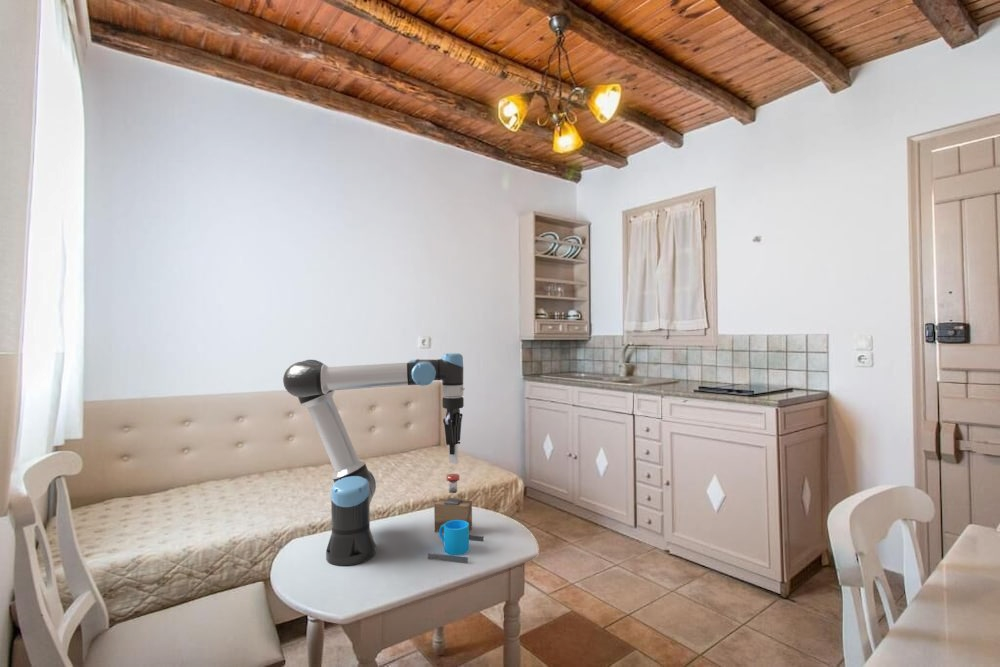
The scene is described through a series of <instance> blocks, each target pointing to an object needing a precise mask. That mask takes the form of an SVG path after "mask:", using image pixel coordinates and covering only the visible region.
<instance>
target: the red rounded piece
mask: <svg viewBox="0 0 1000 667" xmlns="http://www.w3.org/2000/svg"><path fill="white" fill-rule="evenodd" d="M459 480H460V474H458V473H449V474H447V475H446V481H447V482H448V493H450V494H456V493H458V481H459Z"/></svg>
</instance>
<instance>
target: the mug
mask: <svg viewBox="0 0 1000 667" xmlns="http://www.w3.org/2000/svg"><path fill="white" fill-rule="evenodd" d="M443 528H444V533H443V532H442V531H443ZM438 534H439V537H440V540H441V541H442V543H443V545H444V546H443V551H444V553H445V554H446V555H451V556H461V555H465V554H467V553H468V552H469V551H470V540H469V535H470V532H469V523H468V522H466V521H463V520H452V521H448V522H446V523H445V524H443V525H442V526H441V527H440V529H439V532H438Z"/></svg>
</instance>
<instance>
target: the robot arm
mask: <svg viewBox="0 0 1000 667" xmlns="http://www.w3.org/2000/svg"><path fill="white" fill-rule="evenodd" d="M282 380H283V381H282V382H283V386H284V389H285V390H286V392H288V393H289V394H290V395H292V396H293V397H297V398H298V401H299V403H300V405H301V406H303V407H306V408H307V409H308V412H309V413H310V416H311V419H312V421H313V423H314V426H315V429H316V431H317V433H318V436H319V437H320V440H321V443H322V445H323V447H324V449H325V452H326V454H327V456H328V459H329V461H330V464H331V466H332V468H333V470H334V472H333V475H332V476H331V477H332V480H333V482H334V483H333V484H332V487H331V492H330V499H331V500H330V501H331V502H330V503H331V505H330V506H331V509H330V510H331V535H330V538H329V541H328V544H327V547H326V549H325V550H326V551H325V560H326V561H327V562H328V563H329V564H331V565H335V566H350V565H351V566H352V565H357V564H361V563H363V562H366V561H368V560H370V559H371V558H373V556H375V554H376V542H375V540H374V537H373V534H372V531H371V527H370V524H371V523H370V521H371V520H370V510H371V509H370V505H371V503H372V502H371V501H372V500H373V497H374V496H375V492H376V487H377V484H376V479H375V477H374V475H373V473H372V472H371V471H370V470H369V469H368V466H367V465H366V462H365V461H364V460H361V459H359V457H358V455H357V452H356V451H355V448H354V446H353V445H354V444H353V443H352V441H351V438H350V436H349V434H348V431H347V429H346V427H345V424H344V422H343V420H342V417H341V415H340V412H339V410H338V409H337V408H338V407H337V405H336V403H335V401H334V398H333V396H334V393H335V391H344V390H345V391H346V390H359V389H361V390H362V389H372V388H373V389H374V388H386V387H387V388H388V387H389V388H390V387H402V386H423V387H424V386H425V387H426V386H429V385H430V384H432V383H433V382H434V381H442V383H441V384H442V385H441V388H442V389H441V391H442V392H441V394H442V396H443V397H442V400H441V401H442V408H443V409H446V413H445V418H442V419H443V420H442V422H443V425H444V435H445V444H446V446H448V451H449V452H448V460H449V461H448V463H449V464H458V462H459V459H458V458H459V452H458V451H459V449H458V448H459V446H458V445H460V444H461V436H462V435H461V432H462V431H461V430H462V422H463V421H462V420H463V413H461V412H460V409H462V408H463V407H464V406H465V405H464V404H465V403H464V400H465V399H464V397H463V396H464V391H465V387H464V356H463V355H462V354H461V353H455V352H454V353H453V352H452V353H443V354H442V355H441V358H440V359H439V358H437V359H418V358H417V359H410V360H409V361H408V362H393V363H391V362H390V363H379V364H376V363H374V364H360V365H342V366H328V365H327V364H325V363H323V362H321V361H319V360H316V359H307V360H302V361H298V362H295V363H293V364H290V366H289V367H288V368H287V369H285V372H284V374H283V377H282Z"/></svg>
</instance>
